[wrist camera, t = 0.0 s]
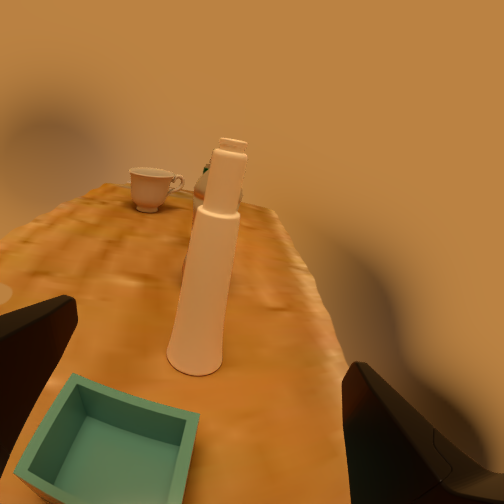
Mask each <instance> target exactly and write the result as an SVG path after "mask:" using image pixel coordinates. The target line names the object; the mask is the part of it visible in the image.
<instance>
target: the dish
mask: <svg viewBox="0 0 504 504" xmlns="http://www.w3.org/2000/svg"><path fill="white" fill-rule="evenodd" d="M199 417H200V414H198V413H194V412H190V411H186V410H181V409H178V408H174V407H170V406H166V405H163V404H159V403H155V402H152V401H149V400H145V399H142V398H139V397H136V396H133V395H130V394H127V393H124V392H121V391H118V390H115V389H112V388H110V387H107V386H104V385H102V384H99V383H96V382H94V381H91V380H89V379H86V378H84V377H82V376H79V375H77V374H75V373H72V375H71V376H70V378H69V379H68V381H67V382H66V384H65V385H64V387H63V388H62V390H61V391H60V393H59V394H58V396H57V398H56V399H55V401H54V402H53V404H52V406H51V407H50V409H49V410H48V412H47V414H46V415H45V417H44V418H43V420H42V422H41V423H40V425H39V427H38V429H37V430H36V432H35V434H34V435H33V437H32V439H31V441H30V442H29V444H28V446H27V448H26V449H25V451H24V453H23V455H22V457H21V459H20V460H19V462H18V464H17V466H16V468H15V470H14V472H13V473H14V474H15V475H16V476H17V477H18V478H19V479H20V480H21V481H22V482H24V483H25V484H26V485H27V486H28V487H29V488H30V489H31V490H32V491H34V492H35V493H36V494H37V495H38V496H40V497H41V498H42V499H44V500H46V501H48V502H49V503H51V504H183V500H184V495H185V490H186V485H187V480H188V475H189V470H190V465H191V460H192V455H193V450H194V445H195V440H196V434H197V428H198V423H199Z"/></svg>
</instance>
